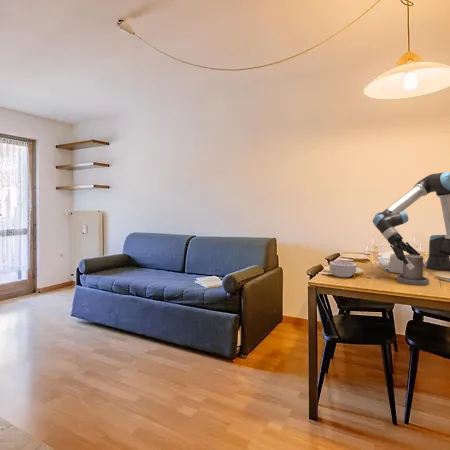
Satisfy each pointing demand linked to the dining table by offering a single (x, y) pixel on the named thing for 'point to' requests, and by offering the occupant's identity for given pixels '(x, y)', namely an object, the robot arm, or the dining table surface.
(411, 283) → the candle dish
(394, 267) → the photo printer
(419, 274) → the pillar candle
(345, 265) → the paper bowls
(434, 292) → the dining table surface
